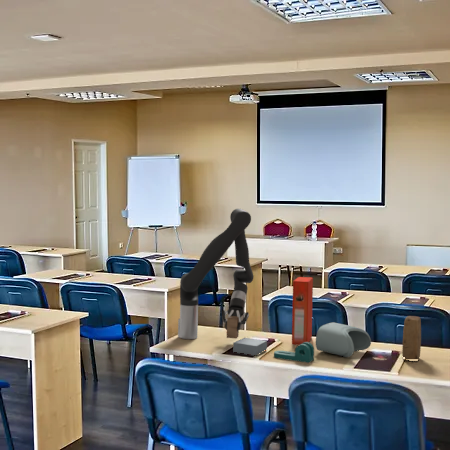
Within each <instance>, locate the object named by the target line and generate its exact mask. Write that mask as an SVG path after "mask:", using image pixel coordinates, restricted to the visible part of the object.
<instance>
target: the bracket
mask: <svg viewBox="0 0 450 450" xmlns="http://www.w3.org/2000/svg"><path fill="white" fill-rule="evenodd" d="M273 358H275V359H281V360H288V361H293V362H294V361H295V362H301V363H307V364H309V363H312V361H314V360H315V347H314V345H313V344H312V343H311V342H310V341H309V342H304V343H302V344H300V345H297V346H296V347H295V350H294V351H287V350H274V352H273Z"/></svg>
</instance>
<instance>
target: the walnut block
mask: <svg viewBox="0 0 450 450" xmlns="http://www.w3.org/2000/svg"><path fill="white" fill-rule="evenodd" d="M226 319H227V330H226V339H236V340H237V339H238V337H239V333H240V332H239V331H240V330H239V331H237V325H238V322H239V321H238V320H239V317H237V316H229V317H228V316H227V318H226Z"/></svg>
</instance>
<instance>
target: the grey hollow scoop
mask: <svg viewBox="0 0 450 450" xmlns="http://www.w3.org/2000/svg"><path fill="white" fill-rule="evenodd" d="M315 337H316V338H315V349H316V350H318V351H320V352H325V353H329V354H332V355H337V356H340V357H342V356H343V358H350V357H352V356H353V354H354V353H355V352H358V351H357V350H362V351H365V350H368V349H369V348H370V346H372V345H371V344H372V339H371V337H370V335H369V333H368V332H367V331H366V330H364V329H362V328H359V327H356V326H351V325H348V324H343V323H337V322H334V321H333V322H329V323H326V324H323V325H321V326H320V327H319V328H318V330H317V332H316V336H315ZM354 351H355V352H354Z"/></svg>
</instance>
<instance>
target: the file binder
mask: <svg viewBox="0 0 450 450" xmlns="http://www.w3.org/2000/svg"><path fill="white" fill-rule="evenodd" d="M313 287H314V278H313V277H309V276H308V277H305V276H298V277H297V278H295V279H294V280H293V281H292V309H291V310H292V313H291V314H292V316H291V319H292V321H291V322H292V323H291V345H297V346H299V345H300V344H302V343H304V342H309V343H310V341H311V340H312V334H313V332H312V331H313V295H314V293H313V292H314V289H313Z"/></svg>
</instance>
